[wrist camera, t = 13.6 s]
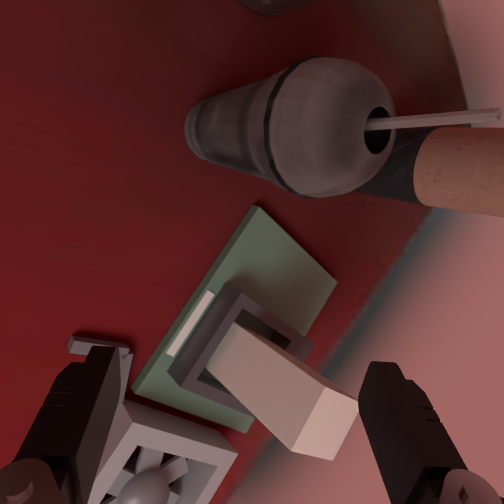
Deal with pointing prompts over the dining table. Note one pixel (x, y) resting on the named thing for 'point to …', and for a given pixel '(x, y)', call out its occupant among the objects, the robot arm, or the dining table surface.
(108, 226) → the dining table surface
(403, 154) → the travel mug
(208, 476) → the fan
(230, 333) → the plug
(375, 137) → the beverage cup
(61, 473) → the robot arm
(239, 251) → the header board
